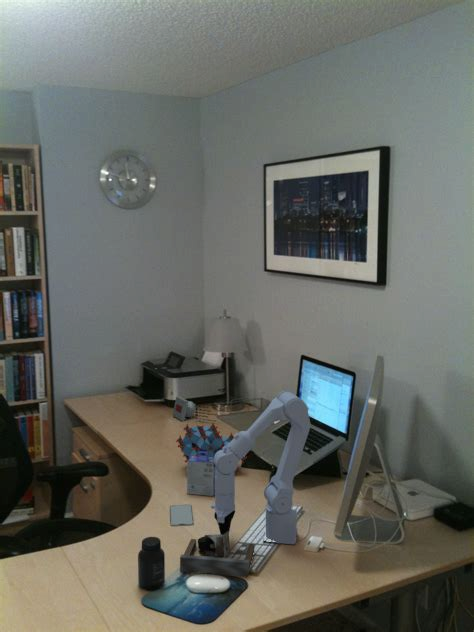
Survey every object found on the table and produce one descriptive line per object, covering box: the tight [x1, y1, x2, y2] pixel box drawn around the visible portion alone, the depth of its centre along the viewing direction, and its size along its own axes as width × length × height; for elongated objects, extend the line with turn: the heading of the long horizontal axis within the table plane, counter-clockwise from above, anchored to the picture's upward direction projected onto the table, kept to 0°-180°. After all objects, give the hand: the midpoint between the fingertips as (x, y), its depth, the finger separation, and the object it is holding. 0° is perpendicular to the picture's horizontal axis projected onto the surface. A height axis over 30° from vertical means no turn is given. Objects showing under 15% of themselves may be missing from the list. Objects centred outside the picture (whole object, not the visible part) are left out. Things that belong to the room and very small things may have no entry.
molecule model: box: [175, 421, 248, 477], centre depth 246 cm, size 16×14×25 cm
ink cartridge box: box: [186, 451, 216, 497], centre depth 225 cm, size 10×6×14 cm, turn 78°
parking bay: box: [179, 538, 255, 578], centre depth 179 cm, size 18×14×4 cm
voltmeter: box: [172, 396, 218, 423], centre depth 311 cm, size 27×11×10 cm, turn 66°
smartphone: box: [169, 504, 195, 527], centre depth 208 cm, size 7×1×15 cm
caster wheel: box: [197, 531, 232, 558], centre depth 184 cm, size 7×11×10 cm
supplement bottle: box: [137, 536, 166, 592], centre depth 167 cm, size 7×7×12 cm
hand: (224, 535), depth 190 cm, fingers closed
